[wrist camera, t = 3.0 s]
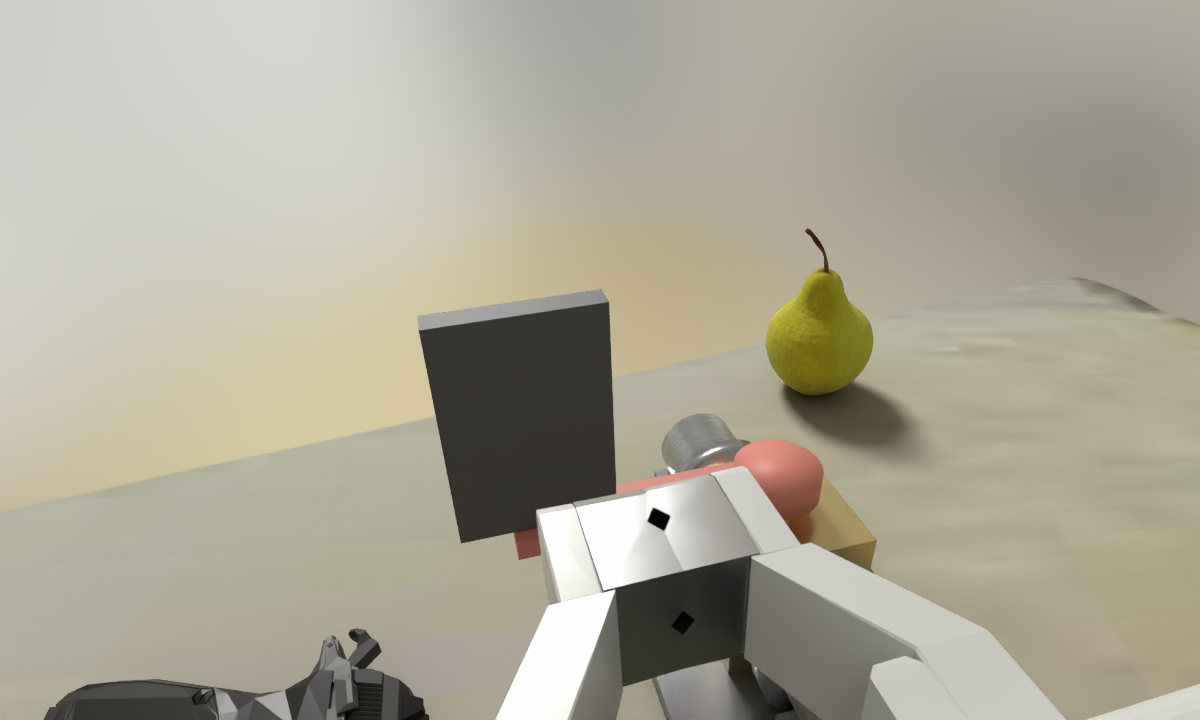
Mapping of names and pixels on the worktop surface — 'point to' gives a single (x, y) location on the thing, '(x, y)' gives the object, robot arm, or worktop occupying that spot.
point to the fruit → (819, 335)
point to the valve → (734, 686)
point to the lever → (552, 418)
